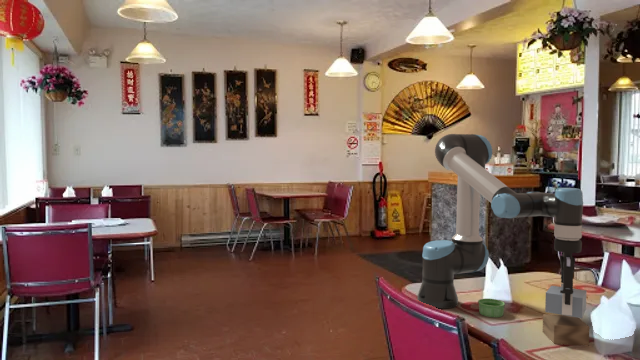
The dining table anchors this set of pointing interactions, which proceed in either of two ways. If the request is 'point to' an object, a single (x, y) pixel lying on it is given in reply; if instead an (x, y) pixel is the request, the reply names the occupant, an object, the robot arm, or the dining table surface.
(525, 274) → the dining table surface
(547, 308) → the slate-grey block
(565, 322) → the walnut base block
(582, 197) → the robot arm
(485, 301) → the ramekin
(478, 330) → the dining table surface
